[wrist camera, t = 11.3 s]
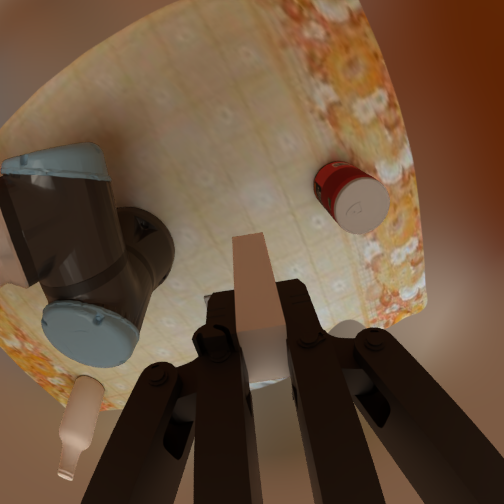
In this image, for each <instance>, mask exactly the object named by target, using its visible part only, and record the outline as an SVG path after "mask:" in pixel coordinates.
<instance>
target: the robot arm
mask: <svg viewBox="0 0 504 504" xmlns="http://www.w3.org/2000/svg"><path fill="white" fill-rule="evenodd" d="M1 174H3V176H1V177H0V287H2V286H4V285H5V284H7V283H12V284H15V285H18V286H20V287H23V288H26V289H27V288H29V287H30V286H32V285H34V284H35V283H37V282H40V285H41V287H42V289H43V291H44V294H45V296H46V298H47V300H48V305H46V307H45V308H44V309H43V317H42V320H41V323H42V329H43V331H44V334H45V335H46V337H47V338H48V340H49V341H50V342H51V344H52V345H53V346H54V347H55V348H56V349H58V350H59V351H60V352H61V353H63V354H64V355H66V356H67V357H69V358H71V359H73V360H75V361H77V362H79V363H82V364H85V365H88V366H92V367H99V368H111V367H116V366H119V365H121V364H123V363H125V362H126V360H128V359H129V358H130V357H131V355H132V353H133V351H134V348H135V346H136V344H137V342H138V341H139V335H140V334H139V333H140V330H141V326H142V323H143V320H144V316H145V313H146V310H147V307H148V303H149V300H150V297H151V294H152V292H153V291H154V290H155V289H156V288H157V287H158V286H159V285H160V284H162V283H163V282H164V281H165V279H166V278H167V276H168V275H169V273H170V271H171V268H172V264H173V261H174V254H175V250H174V243H173V240H172V237H171V235H170V233H169V231H168V230H167V228H166V227H165V225H164V224H163V223H162V222H161V221H160V220H159V219H158V218H156V217H155V216H154V215H152V214H150V213H149V212H147V211H144V210H142V209H138V208H132V207H123V208H118V209H116V206H115V201H114V197H113V192H112V187H111V182H110V181H112V180H111V177H110V176H109V175H108V171H107V167H106V163H105V159H104V154H103V151H102V150H101V148H100V147H99V146H98V145H97V144H95V143H92V142H84V143H76V144H70V145H64V146H59V147H53V148H49V149H44V150H40V151H36V152H32V153H29V154H24V155H20V156H16V157H12V158H9V159H6V160H4V161H3V163H2V168H1ZM232 243H233V269H234V290H229V291H222V292H216V293H213V294H212V295H211V297H210V298H209V300H208V302H207V316H206V318H207V319H206V324H205V325H203V326H202V327H200V328H198V330H197V331H196V332H195V333H194V335H193V337H192V341H193V343H194V346H195V348H196V351H197V353H198V357H197V358H196V359H195V360H193V361H192V362H189V363H187V364H184V365H182V366H179V367H174V366H173V365H172V364H171V363H168V362H156V363H153V364H151V365H149V366H148V367H146V368H145V369H144V370H143V372H142V373H141V375H140V377H139V379H138V381H137V383H136V385H135V387H134V389H133V391H132V393H131V395H130V397H129V399H128V401H127V403H126V405H125V407H124V409H123V411H122V413H121V415H120V417H119V420H118V421H117V423H116V426H115V428H114V430H113V432H112V434H111V436H110V439H109V441H108V443H107V445H106V447H105V449H104V451H103V454H102V456H101V459H100V460H99V462H98V465H97V467H96V469H95V471H94V474H93V476H92V478H91V480H90V483H89V485H88V487H87V490H86V492H85V494H84V497H83V499H82V502H81V504H173V503H174V500H175V497H176V494H177V491H178V487H179V484H180V481H181V478H182V475H183V472H184V469H185V465H186V462H187V459H188V456H189V453H190V450H191V446H192V443H193V440H194V437H195V445H194V504H263V499H262V490H261V481H260V472H259V463H258V453H257V444H256V434H255V425H254V414H253V405H252V395H251V392H250V388H249V383H255V382H262V381H268V380H275V379H281V378H287V377H291V381H292V395H293V400H294V401H295V406H296V411H297V416H298V421H299V425H300V431H301V436H302V441H303V446H304V450H305V456H306V461H307V466H308V471H309V476H310V481H311V487H312V492H313V497H314V503H315V504H386V503H385V500H384V496H383V493H382V489H381V486H380V483H379V479H378V476H377V473H376V470H375V466H374V463H373V460H372V457H371V454H370V451H369V447H368V444H367V441H366V438H365V435H364V433H363V429H362V426H361V423H360V420H359V418H358V415H357V412H356V409H355V406H354V404H355V405H356V407H357V408H358V409H359V411H360V412H361V414H362V415H363V416H364V418H365V419H366V421H367V422H368V424H369V425H370V427H371V428H372V429H373V431H374V432H375V434H376V435H377V436H378V438H379V439H380V441H381V442H382V443H383V445H384V446H385V448H386V449H387V451H388V452H389V453H390V455H391V456H392V457H393V459H394V461H395V462H396V464H397V465H398V466H399V468H400V469H401V471H402V472H403V473H404V475H405V476H406V478H407V479H408V480H409V482H410V483H411V485H412V486H413V488H414V489H415V490H416V492H417V493H418V494H419V496H420V498H421V499H422V500H423V502H424V503H425V504H504V458H503V457H502V456H501V454H500V453H499V452H498V451H497V450H496V448H495V447H494V446H493V445H492V444H491V443H490V441H489V440H488V439H487V438H486V437H485V435H484V434H483V433H482V432H481V431H480V430H479V429H478V427H477V426H476V425H475V424H474V423H473V422H472V420H471V419H470V418H469V417H468V416H467V415H466V414H465V413H464V412H463V410H462V409H461V408H460V407H459V406H458V405H457V404H456V402H455V401H454V400H453V399H452V398H451V397H450V396H449V395H448V394H447V393H446V392H445V390H444V389H443V388H442V387H441V386H440V385H439V384H438V383H437V382H436V381H435V380H434V379H433V377H432V376H431V375H430V374H429V373H428V372H427V371H426V370H425V369H424V368H423V367H422V366H421V365H420V364H419V363H418V362H417V360H416V359H415V358H414V357H413V356H412V355H411V354H410V353H409V352H408V351H407V350H406V349H405V348H404V347H403V346H402V345H401V344H400V343H399V342H398V341H397V340H396V339H395V338H394V337H393V336H392V335H391V334H390V333H389V332H387V331H386V330H384V329H381V328H367V329H364V330H362V331H361V332H359V333H358V334H357V336H356V338H338V337H334V336H331V335H329V334H328V333H327V332H326V331H325V330H323V329H322V327H321V325H320V322H319V320H318V317H317V314H316V312H315V309H314V306H313V304H312V301H311V299H310V296H309V294H308V291H307V288H306V286H305V284H304V283H302V282H301V281H300V280H299V279H292V280H286V281H280V282H275V279H274V275H273V271H272V267H271V263H270V259H269V255H268V251H267V247H266V243H265V239H264V235H263V232H261V233H255V234H249V235H242V236H236V237H232ZM353 402H354V403H353Z"/></svg>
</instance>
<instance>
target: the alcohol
mask: <svg viewBox="0 0 504 504" xmlns="http://www.w3.org/2000/svg"><path fill="white" fill-rule="evenodd" d="M103 396H104V389H103V386H102V385H101V384H100V383H99V382H98V381H97V380H95V379H93V378H91V377H88V376H80V377H78V378H77V379H76V381H75V383H74V386H73V389H72V392H71V394H70V397H69V400H68V403H67V406H66V409H65V412H64V415H63V418H62V421H61V424H60V427H59V436H60V438H61V440H62V444H63V447H62V452H61V459H60V465H59V468H58V473H57V474H58V475H59V476H60V477H62V478H65V479H67V480H73V477H74V471H75V468H76V464H77V462H78V459H79V456H80V453H81V452H82V451H83V450H85V449H87V448H88V447H89V446H90V444H91V441H92V437H93V433H94V429H95V425H96V421H97V417H98V414H99V410H100V406H101V403H102V399H103Z"/></svg>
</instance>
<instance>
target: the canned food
mask: <svg viewBox="0 0 504 504" xmlns="http://www.w3.org/2000/svg"><path fill="white" fill-rule="evenodd" d="M314 192H315V195H316V198H317V199H318V200H319V202H320V203H321V204H322V205H323V207H324V208H325V209H326V210H327V211H328V213H329V214H330V215H331V216H332V217H333V219H334V220H335V221H336V222H337V223H338V224H339V226H340V227H342V228H343V229H344V230H345V231H347V232H349V233H352V234H364V233H368V232H370V231H372V230H374V229H375V228H377V227H378V226H379V225H380V224H381V223H382V222H383V220H384V219H385V217H386V215H387V213H388V210H389V205H390V199H389V194H388V192H387V190H386V188H385V187H384V185H383V184H382V183H380V182H379V181H378V180H376V179H375V178H373V177H372V176H370V175H368V174H366V173H365V172H363V171H361V170H360V169H358V168H356V167H354V166H352V165H351V164H348V163H346V162H333V163H330V164H327V165H326V166H324V167H323V168H322V169H321V170H320V171H319V172H318V174H317V176H316V178H315V182H314Z"/></svg>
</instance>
